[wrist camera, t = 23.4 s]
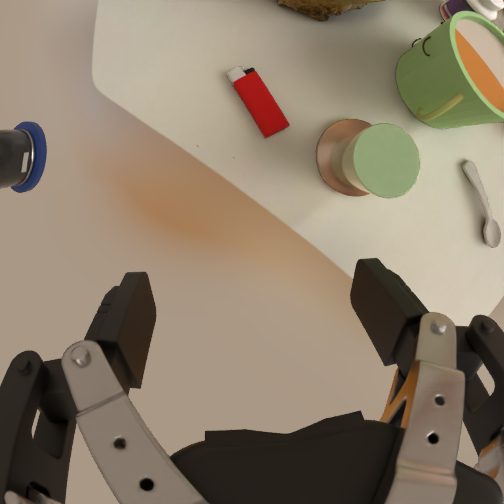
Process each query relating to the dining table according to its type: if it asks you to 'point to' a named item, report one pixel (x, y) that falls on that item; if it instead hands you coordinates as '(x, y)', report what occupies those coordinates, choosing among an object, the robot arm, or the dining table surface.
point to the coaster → (325, 148)
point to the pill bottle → (471, 7)
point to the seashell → (324, 6)
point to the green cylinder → (377, 160)
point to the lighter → (258, 100)
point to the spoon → (491, 226)
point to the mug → (455, 73)
